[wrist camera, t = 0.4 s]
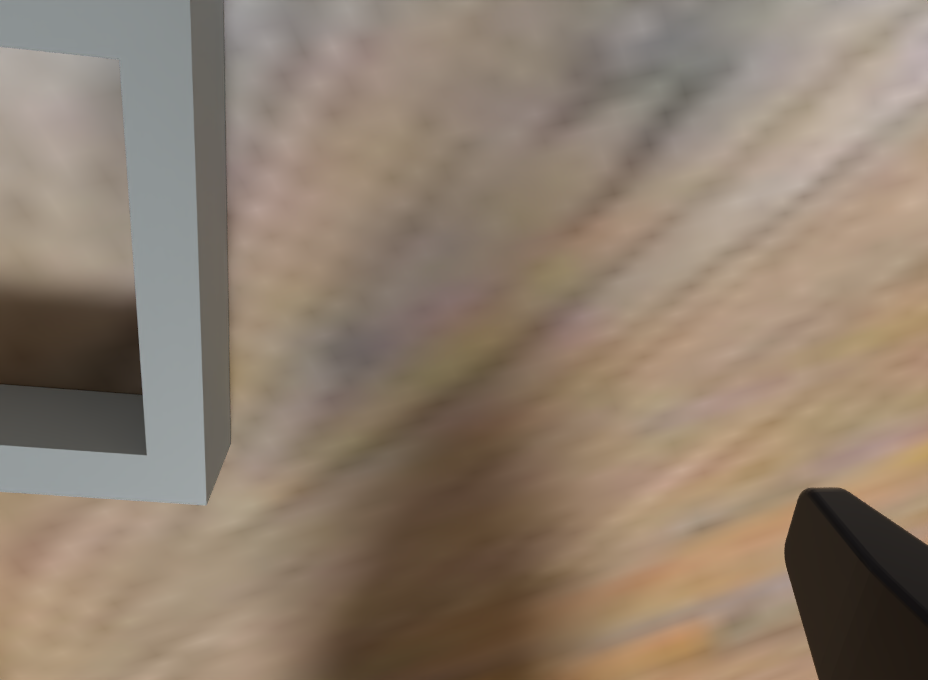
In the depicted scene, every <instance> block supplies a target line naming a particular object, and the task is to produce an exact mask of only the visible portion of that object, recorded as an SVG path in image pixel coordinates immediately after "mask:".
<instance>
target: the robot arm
mask: <svg viewBox="0 0 928 680" xmlns="http://www.w3.org/2000/svg"><path fill="white" fill-rule="evenodd" d="M784 554H785V563H786V567H787V571H788V575H789V578H790V581H791V585H792V588H793V592H794V595H795V599H796V602H797V606H798V609H799V613H800V616H801V620H802V623H803V627H804V630H805V634H806V637H807V641H808V644H809V648H810V651H811V655H812V658H813V662H814V665H815V669H816V672H817V675H818V679H819V680H928V545H927V544H925V543H924V542H922V541H921V540H919V539H918V538H916V537H915V536H913V535H912V534H910V533H909V532H907V531H906V530H904V529H903V528H901V527H900V526H899V525H897V524H896V523H894V522H893V521H891V520H890V519H888V518H887V517H885V516H884V515H882V514H881V513H879V512H878V511H876V510H875V509H873V508H872V507H870V506H869V505H868V504H866V503H865V502H863V501H862V500H860V499H859V498H857V497H856V496H854V495H853V494H851V493H850V492H848V491H846V490H845V489H842V488H808V489H805V490H803V491H802V493H801V494H800V495H799V498H798V500H797V504H796V507H795V511H794V514H793V517H792V521H791V524H790V528H789V531H788V535H787V538H786V542H785V550H784Z"/></svg>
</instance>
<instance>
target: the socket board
mask: <svg viewBox="0 0 928 680" xmlns="http://www.w3.org/2000/svg"><path fill="white" fill-rule="evenodd" d="M0 47H7V48H17V49H26V50H35V51H45V52H54V53H63V54H73V55H82V56H92V57H101V58H110V59H119V62H120V77H121V91H122V105H123V120H124V134H125V148H126V163H127V177H128V191H129V206H130V220H131V234H132V249H133V263H134V277H135V292H136V306H137V320H138V335H139V349H140V363H141V378H142V392H143V395H135V394H122V393H109V392H96V391H83V390H70V389H57V388H44V387H30V386H17V385H4V384H0V492H13V493H28V494H43V495H58V496H73V497H88V498H103V499H119V500H134V501H149V502H164V503H179V504H194V505H207V503H208V500H209V498H210V495H211V493H212V490H213V488H214V485H215V483H216V480H217V478H218V475H219V472H220V470H221V467H222V465H223V462H224V460H225V457H226V455H227V452H228V450H229V447H230V444H231V435H230V375H229V315H228V254H227V194H226V134H225V73H224V13H223V0H0Z"/></svg>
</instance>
